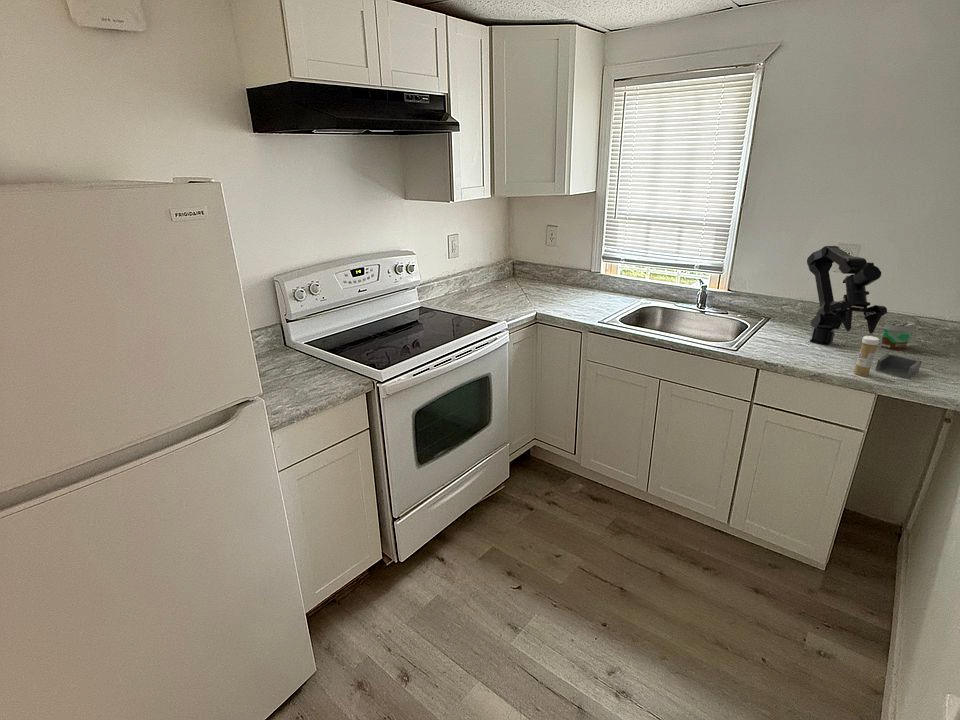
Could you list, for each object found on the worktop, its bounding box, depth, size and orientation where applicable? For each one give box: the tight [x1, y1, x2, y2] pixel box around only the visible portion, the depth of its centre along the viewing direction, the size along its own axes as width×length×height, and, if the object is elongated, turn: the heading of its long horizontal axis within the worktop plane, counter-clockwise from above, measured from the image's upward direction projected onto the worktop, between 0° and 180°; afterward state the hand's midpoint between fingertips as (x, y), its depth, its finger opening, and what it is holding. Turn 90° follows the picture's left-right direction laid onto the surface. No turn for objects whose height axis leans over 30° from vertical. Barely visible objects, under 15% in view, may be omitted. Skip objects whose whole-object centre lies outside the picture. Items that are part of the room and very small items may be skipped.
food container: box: [880, 320, 916, 351], centre depth 200 cm, size 12×6×10 cm, turn 106°
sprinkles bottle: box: [853, 335, 880, 377], centre depth 178 cm, size 5×5×14 cm
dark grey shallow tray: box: [874, 353, 923, 380], centre depth 181 cm, size 10×10×4 cm
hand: (859, 332), depth 184 cm, fingers open, 9 cm apart
